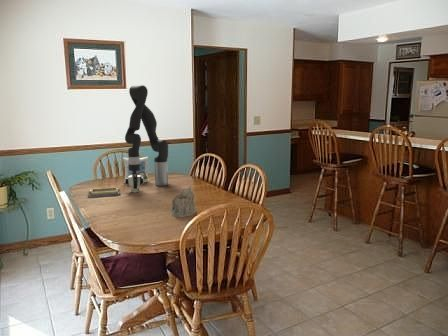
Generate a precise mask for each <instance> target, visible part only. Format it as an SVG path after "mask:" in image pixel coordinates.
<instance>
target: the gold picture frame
mask: <svg viewBox="0 0 448 336" xmlns="http://www.w3.org/2000/svg"><path fill="white" fill-rule="evenodd" d="M115 196H116V197H117V196H118V197H119V196H122V195H121V188H118V187H117V186H115V187H102V188H91V189H90V190H88V195H87V197H88V199H90V198H101V197H102V198H104V197H115Z"/></svg>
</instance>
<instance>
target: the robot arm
mask: <svg viewBox="0 0 448 336" xmlns="http://www.w3.org/2000/svg"><path fill="white" fill-rule="evenodd" d="M128 92H129V96H130V98H131V100H132V102H133V104H134V105H135V107H134V109H133V111H132V113H131V114H130V118H129V124H128V125H129V126H128V127H127V131H126V133H125V136H124V140H125V143H126V144H127V145H129V144H130V145H132V147H130V148H128V149H127V150H128V151H127V155H128V157H127V158H128V167H129V171H132V173H131V174H132V180H133V183H134V186H133V187H134V189H137V187H138V186H137V182H138V181H137V179H138V178H137V177H138V173H137V172H136V171H138V170H140V159H139V158H140V147H141V142H142V138H141V135H140V134H139V133H135V132H137V131H139V130H140V128H141V123H142V124H143V127H144V129H145V132H146V134H147V138H148V140H149V144H150V147H151V149H152V151H154V152H156V153H158V155H157V156H155V157H154V158H153V159H154V160H153V161H154V164H153V165H154V184H155V186H157V187H158V186H159V187H160V186H168V185H169V171H168V158H169V144H168V142H167V140H165V139H159V137H158V135H157V131H156V130H157V122H158V121H157V120H156V116H155V114H154V112H153V111H152V110H151V109H150V108H149V107H148V106H147V104H146V102H147V98H148V88H147V86H146V85H144V84H140V85H139V84H137V85H130V88H129V91H128ZM134 180H136V181H134Z"/></svg>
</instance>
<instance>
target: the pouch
mask: <svg viewBox="0 0 448 336" xmlns="http://www.w3.org/2000/svg"><path fill="white" fill-rule="evenodd" d="M122 159H123V164H124V169H125V173H124V182H123V184H126V182H125V179H126V178H127V177H128V176H132V174H131V173H132V171H129V167H128V157H125V156H124V157H123V156H122ZM139 159H140V170H138V171H136V172H137V173H138V176H142V177H143V178H144V182H150V179H149V176H148V161H149V160H148V159H149V155H148V156H145V157H139Z"/></svg>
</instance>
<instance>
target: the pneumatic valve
mask: <svg viewBox="0 0 448 336" xmlns="http://www.w3.org/2000/svg"><path fill="white" fill-rule="evenodd" d="M137 178H138V179H137V181H138V182H137V189H134V183H133V180H132V176H128V177H127V178H126V179H125V178H124V181H125V182H126V183H125V185H127V187H131V188H130V191H131V192H132V193H138V192H140V187H142V185H144V183H145V181H144V178H143V177H142V176H138V177H137ZM134 181H136V180H134Z"/></svg>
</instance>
